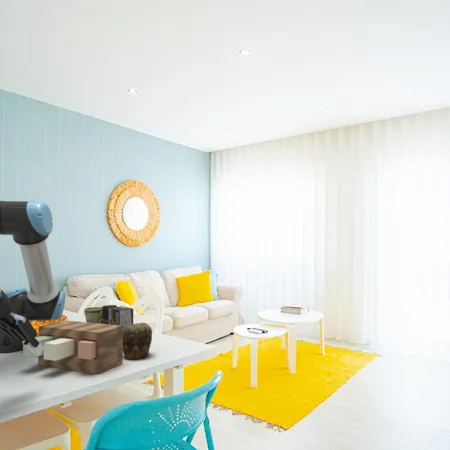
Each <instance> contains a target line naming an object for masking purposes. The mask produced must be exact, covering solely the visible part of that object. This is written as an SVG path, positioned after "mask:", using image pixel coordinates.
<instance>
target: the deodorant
mask: <svg viewBox="0 0 450 450" xmlns="http://www.w3.org/2000/svg"><path fill="white" fill-rule="evenodd" d="M101 307H102V324H109V308H113V307H118V305H116V304H106V305H102V306H101Z"/></svg>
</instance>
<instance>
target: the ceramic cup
mask: <svg viewBox="0 0 450 450" xmlns="http://www.w3.org/2000/svg"><path fill="white" fill-rule="evenodd" d="M83 310H84V317H85V322H88V323H99V324H102V306H90V307H86V308H84V309H83Z"/></svg>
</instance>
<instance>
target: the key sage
mask: <svg viewBox="0 0 450 450" xmlns="http://www.w3.org/2000/svg"><path fill="white" fill-rule="evenodd" d="M35 338H36V339H37V340H38V341H39V342H40V343H41V344H42V345H43V346H44V343H46V342H49V341H53V340H54V336H52V335H42V336H39V335H38V336H36V337H35ZM41 355H44V350H43V351H42V353H41V354H40V356H41ZM22 356H23V357H27V358H34V359H35V358H38V356H35V355H34V354H33V353H32V352H31V351H30V350H29V349H28V348H27V347H26V346H25V345H24V344H23V350H22Z"/></svg>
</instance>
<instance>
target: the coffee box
mask: <svg viewBox="0 0 450 450" xmlns="http://www.w3.org/2000/svg"><path fill="white" fill-rule="evenodd" d="M109 324H110V325H121V326H123V333H124V330H125V328H126V327H127V326H129V325H131V324H134V308H132V307H127V306H123V305H122V306H117V307H113V308H109Z"/></svg>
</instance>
